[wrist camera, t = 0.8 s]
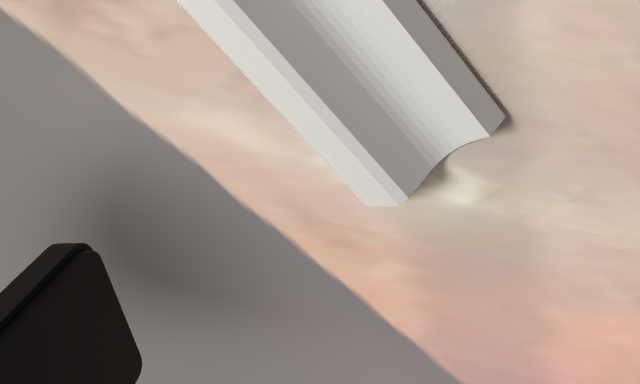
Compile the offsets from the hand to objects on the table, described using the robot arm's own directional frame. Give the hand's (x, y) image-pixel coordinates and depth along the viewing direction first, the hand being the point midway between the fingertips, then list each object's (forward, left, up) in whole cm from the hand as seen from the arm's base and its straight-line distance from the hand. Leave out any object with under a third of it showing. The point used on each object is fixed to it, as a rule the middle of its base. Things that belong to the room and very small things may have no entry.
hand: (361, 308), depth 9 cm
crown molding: (+2, -8, -28) cm, 29 cm away
